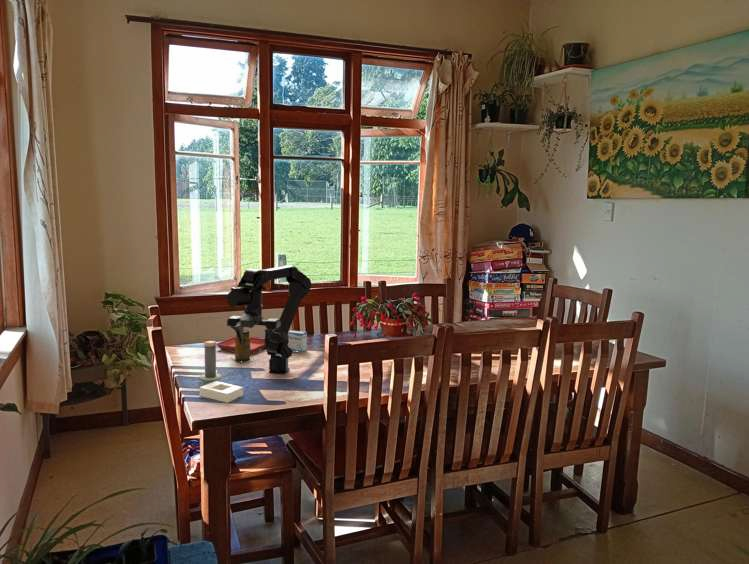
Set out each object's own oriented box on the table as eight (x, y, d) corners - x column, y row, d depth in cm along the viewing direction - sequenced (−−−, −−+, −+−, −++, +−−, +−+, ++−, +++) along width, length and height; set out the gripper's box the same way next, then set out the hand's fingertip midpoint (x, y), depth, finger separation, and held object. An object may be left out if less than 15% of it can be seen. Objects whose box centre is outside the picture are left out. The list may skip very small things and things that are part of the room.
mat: (225, 374, 223) (225, 373, 223) (216, 381, 215) (216, 380, 215) (205, 373, 224) (205, 372, 224) (195, 379, 217) (195, 378, 217)
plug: (218, 376, 220) (218, 342, 218) (207, 378, 217) (207, 344, 215) (213, 373, 223) (212, 340, 221) (202, 376, 220) (201, 341, 218)
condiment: (246, 356, 249) (246, 328, 248) (256, 360, 243) (256, 332, 241) (230, 358, 245) (230, 330, 243) (239, 363, 238) (240, 334, 237)
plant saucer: (272, 346, 267) (273, 339, 266) (251, 356, 250) (251, 348, 250) (238, 341, 273) (238, 334, 272) (215, 351, 256) (215, 343, 255)
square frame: (215, 389, 207) (215, 380, 207) (243, 395, 202) (243, 387, 202) (199, 395, 200) (199, 387, 200) (227, 402, 195) (227, 393, 194)
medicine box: (285, 351, 259) (286, 331, 258) (290, 348, 263) (290, 329, 262) (302, 353, 257) (302, 333, 255) (306, 350, 261) (307, 331, 260)
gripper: (220, 305, 209) (220, 348, 211) (271, 309, 206) (270, 352, 208) (232, 300, 220) (232, 341, 222) (281, 303, 217) (280, 345, 219)
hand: (253, 345), depth 217 cm, fingers open, 9 cm apart
